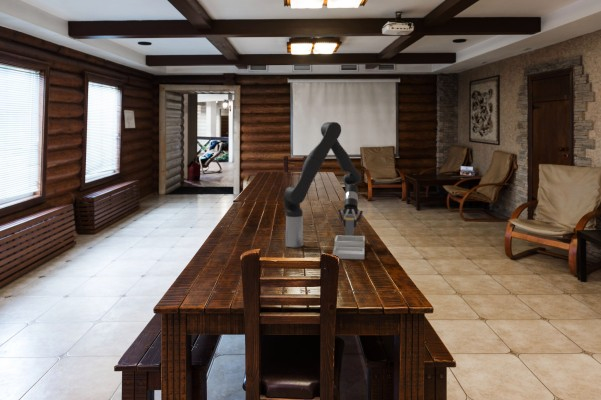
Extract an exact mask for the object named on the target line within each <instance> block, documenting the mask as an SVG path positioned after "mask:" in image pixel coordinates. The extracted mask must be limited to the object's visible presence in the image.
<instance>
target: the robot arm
mask: <svg viewBox="0 0 601 400" xmlns="http://www.w3.org/2000/svg"><path fill="white" fill-rule="evenodd" d="M320 133H321V135H322V139H321V140H320V142H318V144H317V145H316V146H314V148H313V149H312V150H311V151H310V152H309V153H308V155H307V157H306V158H305V160H304V162H303V165H302V167H301V168H302V169H301V175H300V177H299V180H298V182H297V184H296V185H295V186H288V187H286V189H285V191H284V194H283V195H284V196H283V197H284V198H283V203H284V204H283V205H284V211H285V222H286V223H285V228H286V229H285V233H284V234H285V247H287V248H288V247H289V248H301V247H303V246H304V245H303V243H304V242H303V241H304V239H303V238H304V237H303V235H304V233H303V232H304V231H303V229H304V227H303V226H304V222H303V220H304V219H303V215H304V214H303V210H302V208H301V206H300V204H302V203H303V202H304V200H305V198H306V197H307V194H308V192H309V190H310V188H311V185H312V183H313V182H314V180H315V178H316V176H317V175H318V173H319V170H320V169H321V167H322V165H323V163H324V162H325V160H326V157H327V156H328V154H329V152H330V150H331V151H332V152H333V154H334V157H335V159H336V161H337V163H338V165H339V168H340V169H341V171H342V172H347V173H346V174H344V175H343V177H342V181H343V184H344V189H345V192H344V193H345V194H344V200H343V202H344V203H343V209H342V210H341V209H338V211H337V213H338V217H339V220H340V221H341V222H342V225H343V227H344V228H345V226H346V214H354V229H355V228H356V227H357V222H361V220H362V217H363V214H364V213H363V210H359V209H358V203H359V197H358V195H359V193H358V192H359V189H358V186H357V185H356V184H360V183H361V182H362V175H361V173H360V172H359V171H358V169H357V168H356V167H355V166H354V164H353V162H352V161H351V158H350V156H349V154H348V153H347V151H346V150H345V148H343V146H342V144H340V141H339V137H340V136H341V133H342V125H340V123H338V122H335V121H330V122H324V123H323V124H322V125H321V126H320ZM348 172H349V173H348ZM343 214H344V216H343ZM356 215H358V217H357V216H356Z"/></svg>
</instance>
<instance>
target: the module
mask: <svg viewBox="0 0 601 400" xmlns="http://www.w3.org/2000/svg"><path fill="white" fill-rule="evenodd" d="M344 229H345V231H344V232H345V235H344V236H355V235H354V234H355V228H354V214H346V226H345V227H344Z"/></svg>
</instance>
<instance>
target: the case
mask: <svg viewBox="0 0 601 400" xmlns="http://www.w3.org/2000/svg"><path fill="white" fill-rule="evenodd" d="M365 237H366V236H365V235H335V238H334V247H364V249H365V240H366V239H365Z"/></svg>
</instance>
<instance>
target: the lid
mask: <svg viewBox="0 0 601 400" xmlns="http://www.w3.org/2000/svg"><path fill="white" fill-rule="evenodd" d="M333 255H336V256H338V257H339V258H338V259H339V260H340V259H343V260H344V259H345V260H347V259H348V260H365V248H364V247H335V246H334V247H333V249H332V256H333Z"/></svg>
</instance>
